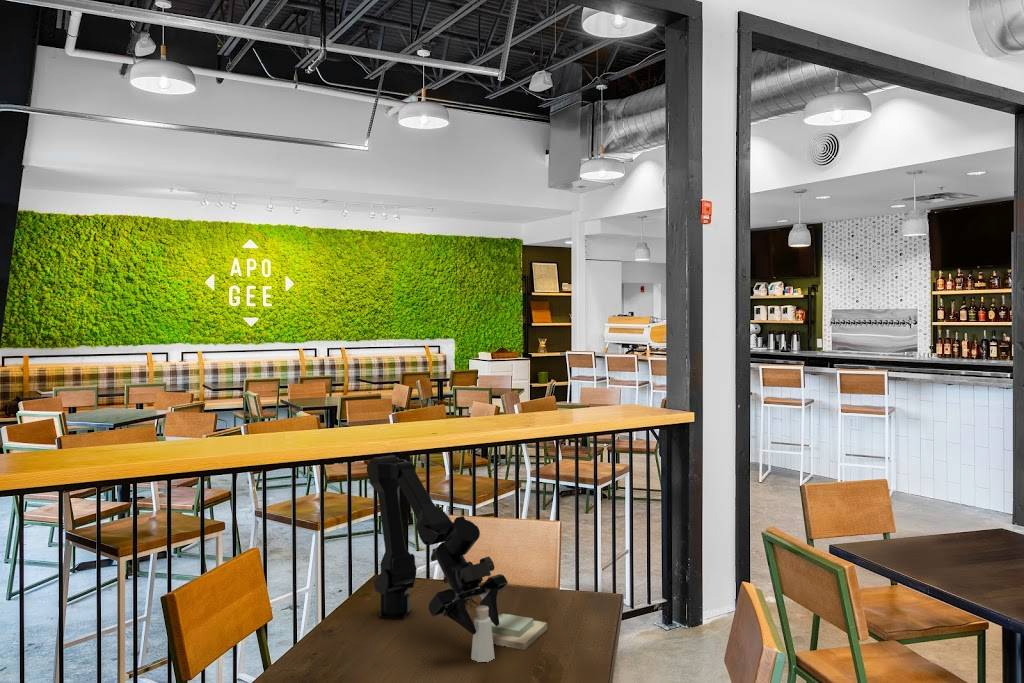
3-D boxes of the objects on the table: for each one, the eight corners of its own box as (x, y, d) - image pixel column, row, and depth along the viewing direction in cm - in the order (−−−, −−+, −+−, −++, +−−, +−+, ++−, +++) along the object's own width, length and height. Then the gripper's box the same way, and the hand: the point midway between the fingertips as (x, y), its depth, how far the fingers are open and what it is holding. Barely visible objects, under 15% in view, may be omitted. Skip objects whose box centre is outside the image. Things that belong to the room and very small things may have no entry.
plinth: (472, 640, 171) (472, 627, 171) (498, 620, 183) (497, 608, 183) (524, 650, 166) (524, 636, 166) (547, 629, 178) (547, 616, 178)
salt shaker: (498, 654, 164) (498, 604, 164) (490, 664, 159) (489, 612, 159) (475, 651, 166) (475, 601, 166) (466, 661, 161) (465, 610, 161)
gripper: (435, 555, 159) (468, 621, 151) (502, 538, 171) (536, 599, 163) (414, 583, 165) (445, 648, 157) (480, 565, 177) (512, 624, 169)
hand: (486, 629), depth 161 cm, fingers open, 6 cm apart
